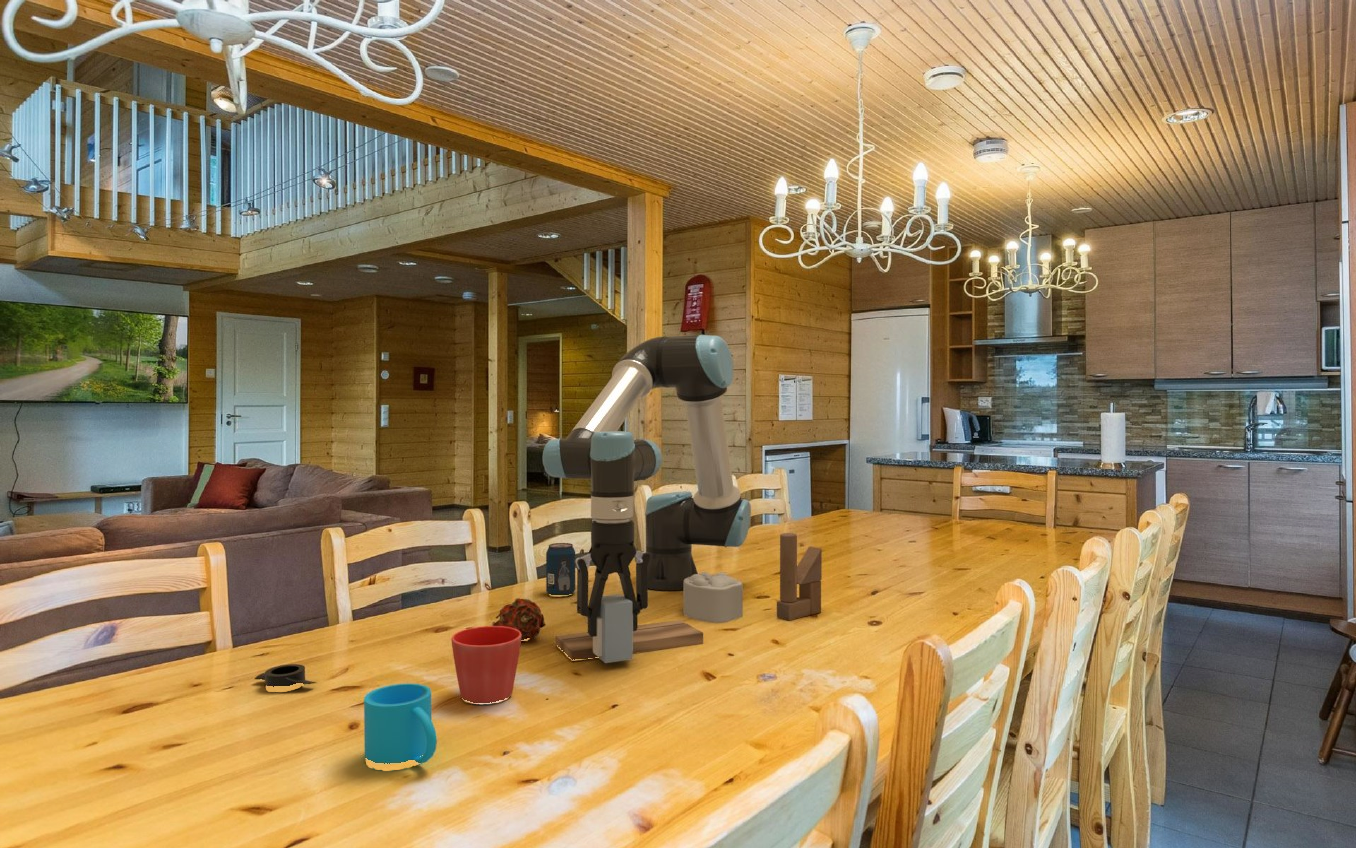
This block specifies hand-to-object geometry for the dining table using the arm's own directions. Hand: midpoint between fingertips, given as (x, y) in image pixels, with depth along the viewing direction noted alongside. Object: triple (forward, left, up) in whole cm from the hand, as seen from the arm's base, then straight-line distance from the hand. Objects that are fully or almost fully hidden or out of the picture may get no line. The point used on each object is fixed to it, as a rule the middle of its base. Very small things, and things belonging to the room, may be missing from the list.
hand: (612, 651), depth 138 cm
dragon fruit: (-22, -11, -2) cm, 25 cm away
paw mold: (-22, +31, -2) cm, 38 cm away
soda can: (-53, +7, -2) cm, 53 cm away
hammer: (-4, 0, -1) cm, 5 cm away
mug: (+24, -37, -2) cm, 45 cm away
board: (-9, +7, -2) cm, 11 cm away
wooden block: (-13, +48, -2) cm, 49 cm away
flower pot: (+6, -23, -2) cm, 24 cm away
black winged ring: (-12, -52, -3) cm, 53 cm away
